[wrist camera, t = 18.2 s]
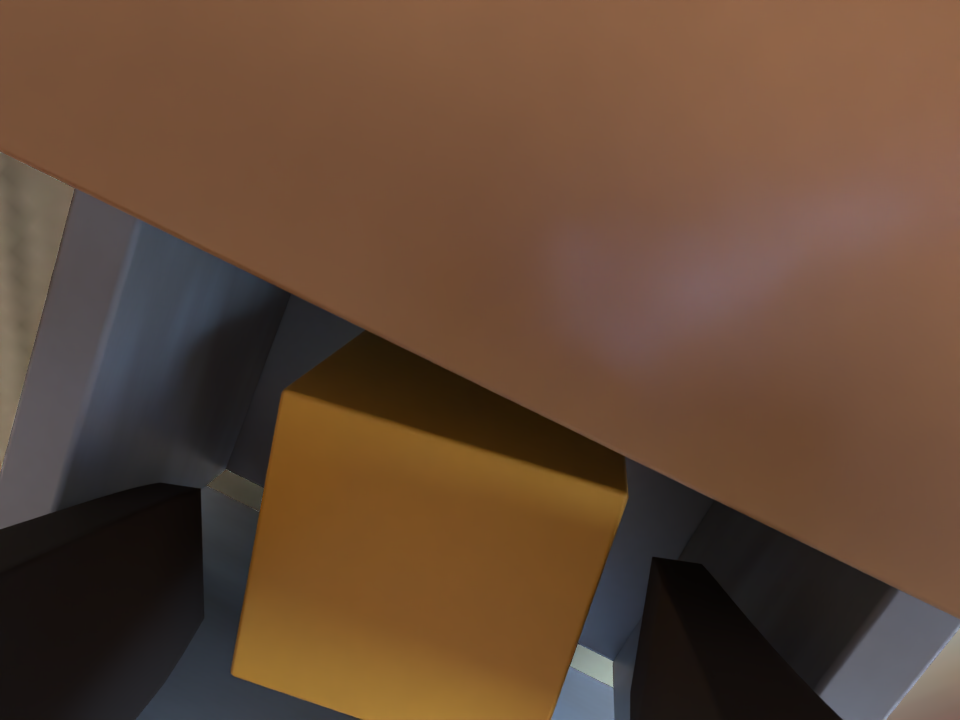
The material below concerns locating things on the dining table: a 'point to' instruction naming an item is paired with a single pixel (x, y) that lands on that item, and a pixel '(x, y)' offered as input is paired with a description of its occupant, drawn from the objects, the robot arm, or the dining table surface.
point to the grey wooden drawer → (246, 451)
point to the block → (422, 544)
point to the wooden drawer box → (577, 216)
